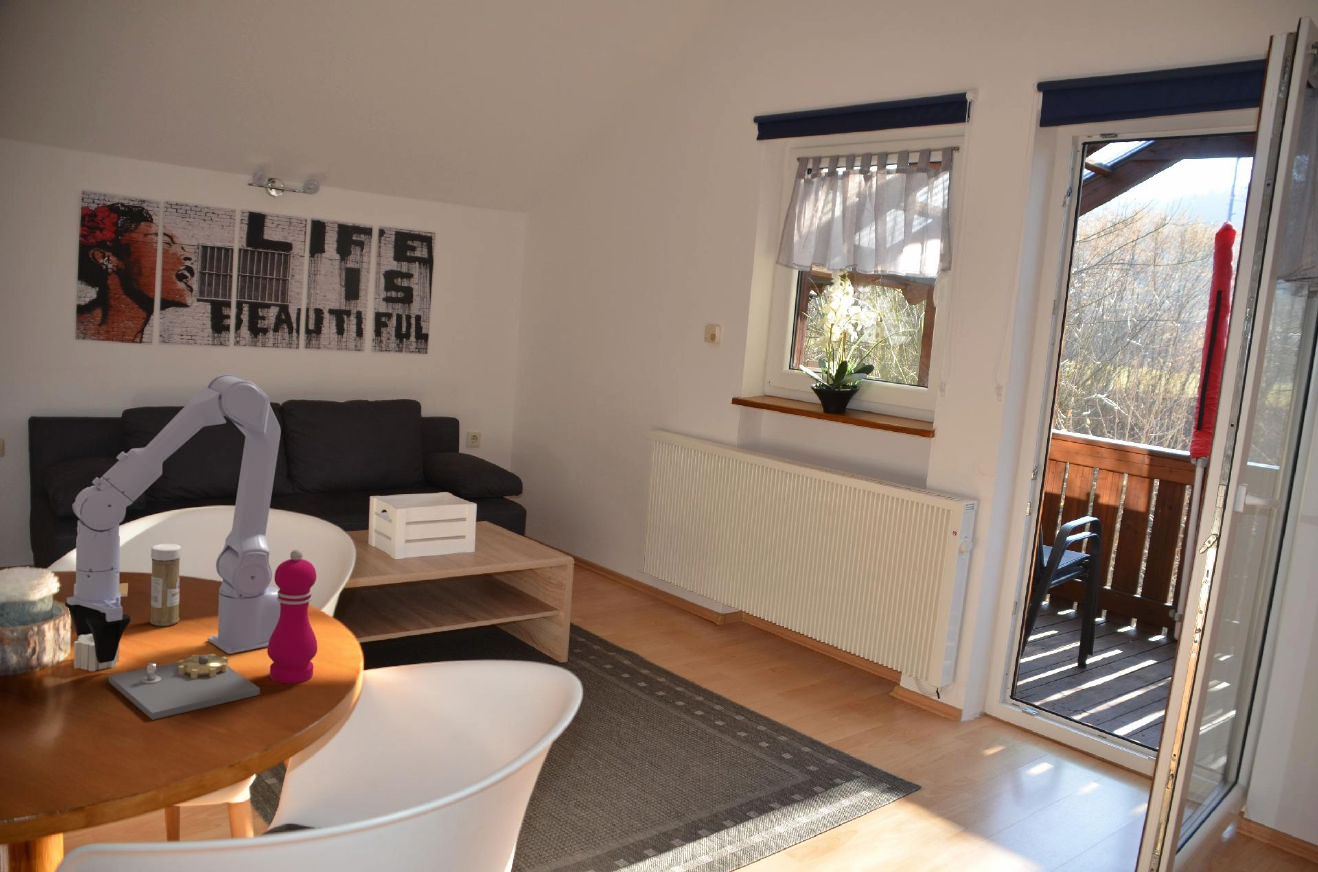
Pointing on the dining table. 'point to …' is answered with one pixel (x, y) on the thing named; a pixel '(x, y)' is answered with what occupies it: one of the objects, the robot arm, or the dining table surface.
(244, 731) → the dining table surface
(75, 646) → the gear
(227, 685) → the gear board
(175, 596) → the sprinkles bottle
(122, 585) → the architectural model
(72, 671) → the dining table surface
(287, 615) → the pepper mill
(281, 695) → the dining table surface
